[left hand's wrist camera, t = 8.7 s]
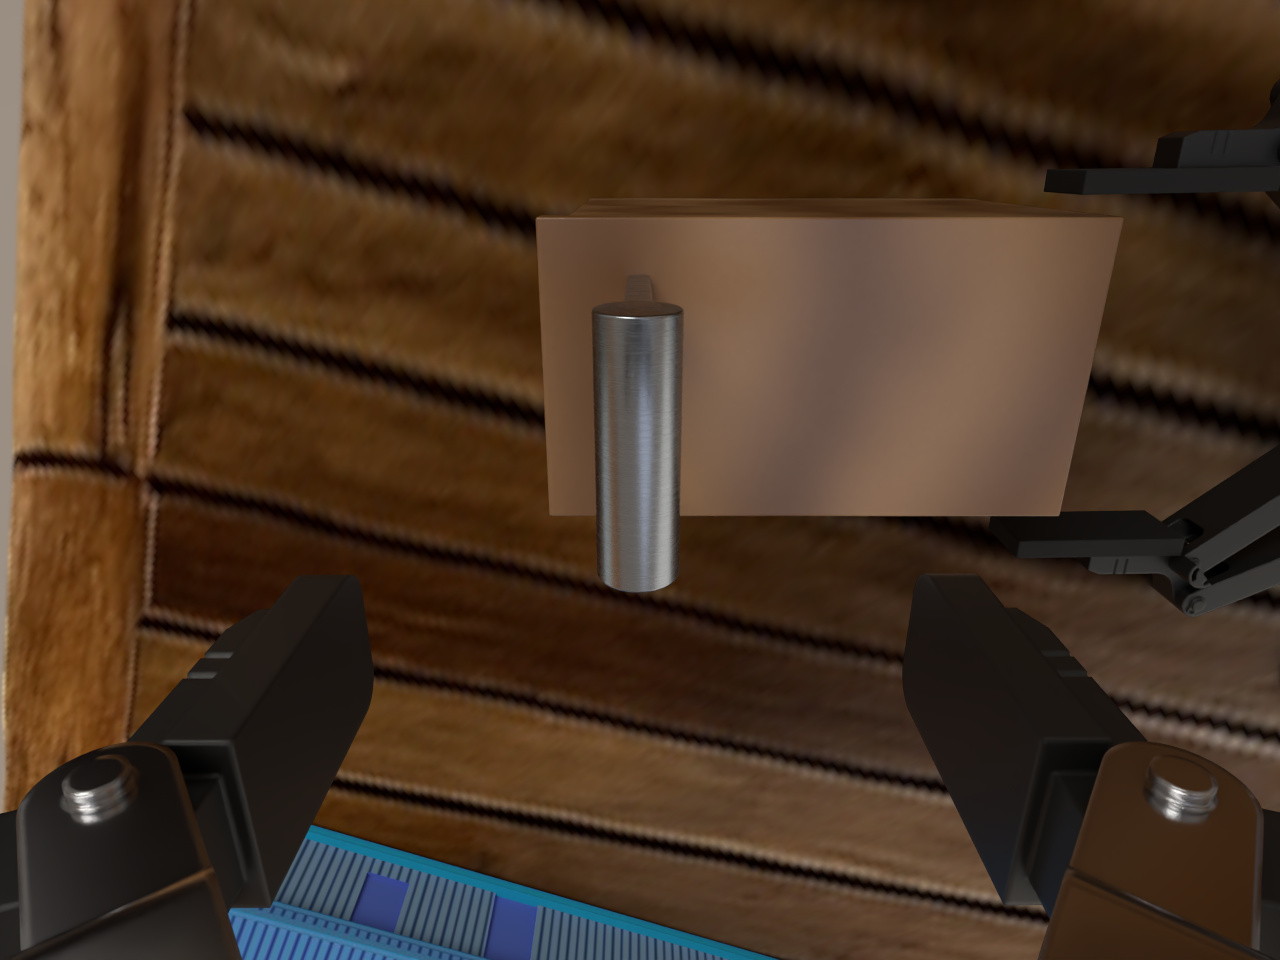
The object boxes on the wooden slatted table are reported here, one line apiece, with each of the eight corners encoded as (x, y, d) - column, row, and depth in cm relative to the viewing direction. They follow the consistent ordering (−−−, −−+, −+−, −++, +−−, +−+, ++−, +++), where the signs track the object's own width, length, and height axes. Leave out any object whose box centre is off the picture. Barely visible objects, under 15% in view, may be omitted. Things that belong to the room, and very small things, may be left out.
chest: (594, 411, 38) (577, 505, 27) (590, 198, 34) (568, 214, 24) (935, 411, 38) (1046, 505, 27) (966, 198, 34) (1108, 214, 24)
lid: (552, 505, 27) (515, 645, 20) (538, 214, 24) (487, 241, 16) (1047, 506, 27) (1212, 646, 19) (1108, 215, 24) (1341, 242, 16)
